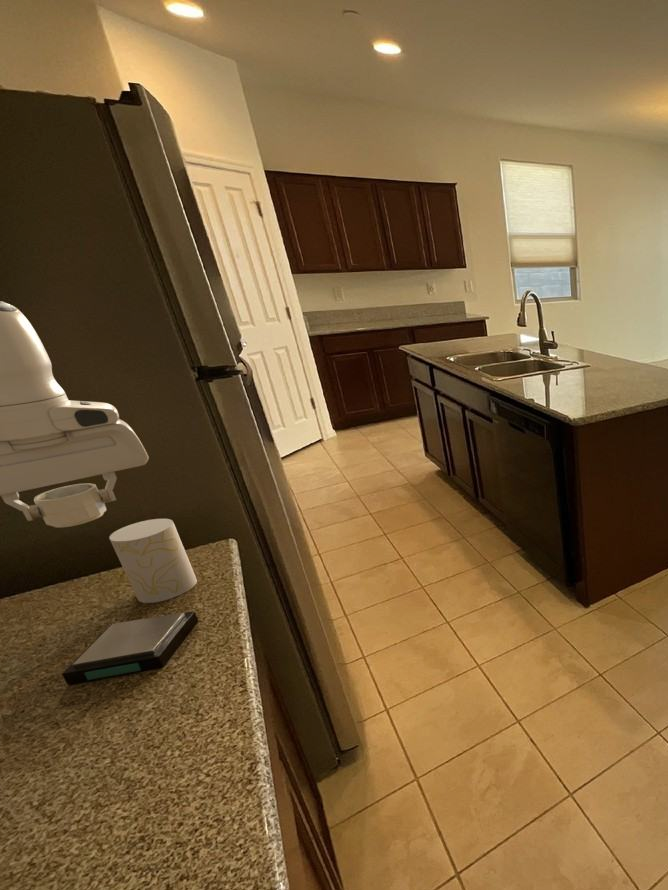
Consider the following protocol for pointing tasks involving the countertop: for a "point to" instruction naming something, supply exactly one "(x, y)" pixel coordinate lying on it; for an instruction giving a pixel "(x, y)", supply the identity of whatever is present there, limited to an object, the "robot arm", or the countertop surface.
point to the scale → (132, 647)
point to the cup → (154, 560)
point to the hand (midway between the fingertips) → (74, 509)
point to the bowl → (70, 505)
